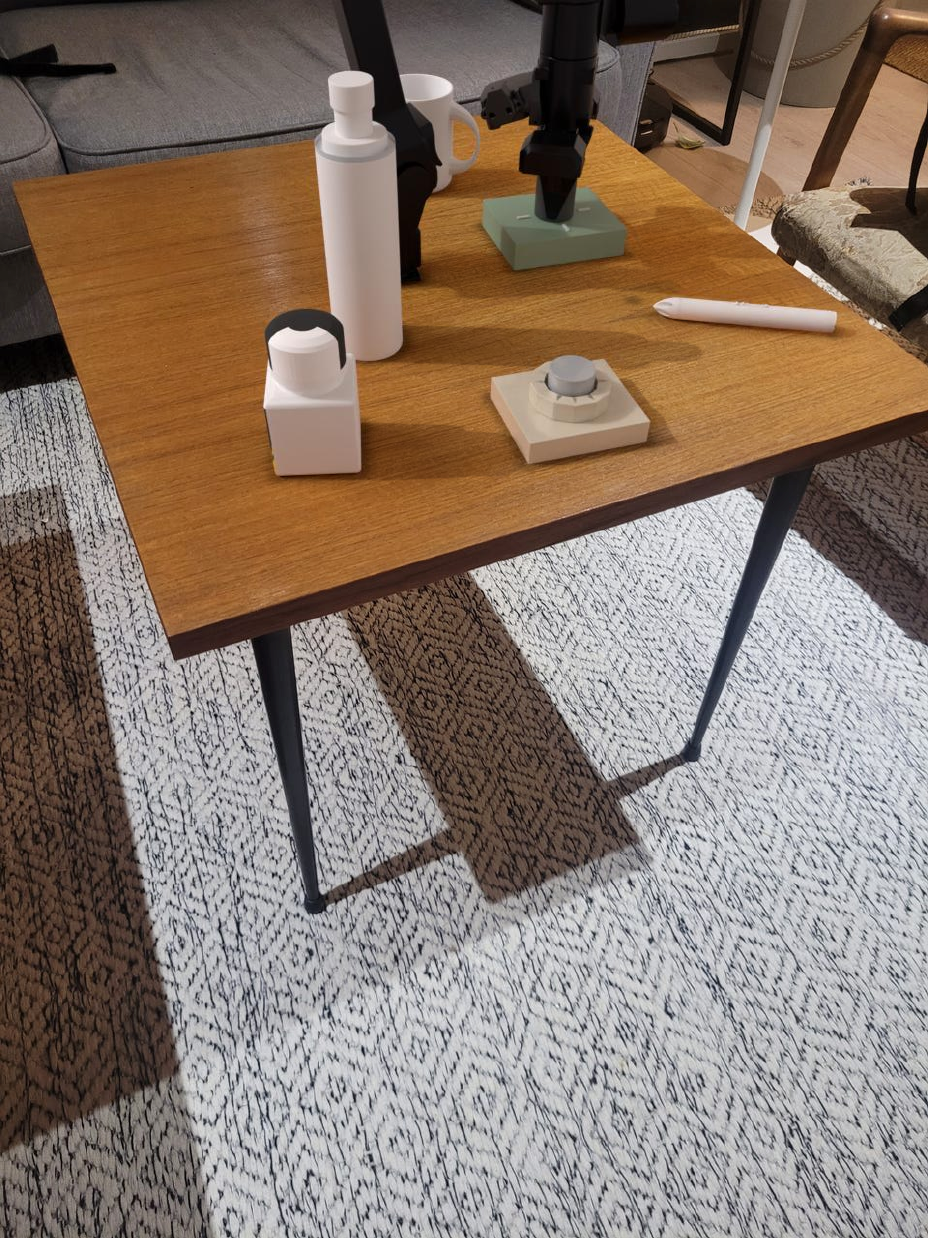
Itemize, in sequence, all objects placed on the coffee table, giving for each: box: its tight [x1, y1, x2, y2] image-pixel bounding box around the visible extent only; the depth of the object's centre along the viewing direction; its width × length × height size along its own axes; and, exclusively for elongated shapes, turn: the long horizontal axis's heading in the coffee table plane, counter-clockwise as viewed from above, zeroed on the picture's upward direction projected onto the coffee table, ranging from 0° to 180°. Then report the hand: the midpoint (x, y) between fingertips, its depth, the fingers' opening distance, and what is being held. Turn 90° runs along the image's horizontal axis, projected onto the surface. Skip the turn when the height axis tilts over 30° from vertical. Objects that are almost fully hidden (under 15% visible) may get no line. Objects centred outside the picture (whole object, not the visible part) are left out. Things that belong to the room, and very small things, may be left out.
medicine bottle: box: [262, 308, 362, 477], centre depth 74 cm, size 7×7×12 cm
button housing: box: [490, 358, 651, 465], centre depth 80 cm, size 11×10×4 cm
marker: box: [652, 296, 838, 333], centre depth 92 cm, size 18×2×2 cm, turn 82°
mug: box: [399, 73, 481, 194], centre depth 110 cm, size 9×12×11 cm
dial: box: [534, 175, 578, 222], centre depth 100 cm, size 4×4×5 cm
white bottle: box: [314, 70, 404, 362], centre depth 80 cm, size 7×7×25 cm
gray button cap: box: [548, 354, 596, 397], centre depth 79 cm, size 4×4×2 cm
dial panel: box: [481, 186, 628, 271], centre depth 103 cm, size 13×11×3 cm
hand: (554, 209), depth 102 cm, fingers closed on dial, 4 cm apart
